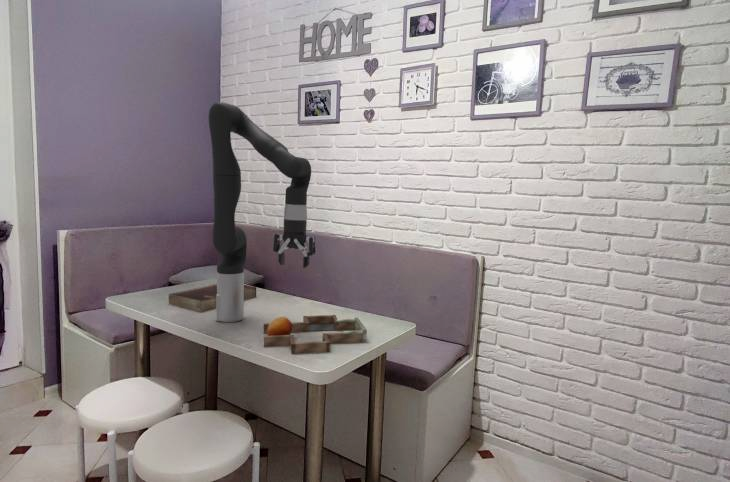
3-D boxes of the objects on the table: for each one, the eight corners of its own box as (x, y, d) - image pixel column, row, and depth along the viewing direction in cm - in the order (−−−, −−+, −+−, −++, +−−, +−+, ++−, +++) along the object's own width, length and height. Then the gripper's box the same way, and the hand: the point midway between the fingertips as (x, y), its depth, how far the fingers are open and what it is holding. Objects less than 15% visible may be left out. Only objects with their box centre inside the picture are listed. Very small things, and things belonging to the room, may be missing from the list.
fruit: (295, 339, 140) (282, 317, 139) (274, 351, 140) (261, 329, 139) (300, 330, 148) (287, 310, 147) (279, 341, 148) (267, 321, 147)
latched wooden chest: (225, 291, 203) (225, 280, 202) (256, 298, 193) (256, 287, 193) (168, 305, 178) (168, 292, 177) (200, 313, 169) (200, 300, 168)
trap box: (264, 355, 130) (264, 342, 129) (263, 325, 156) (263, 314, 156) (371, 350, 137) (372, 337, 136) (353, 322, 163) (353, 311, 163)
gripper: (270, 217, 147) (269, 265, 149) (310, 220, 143) (308, 270, 146) (280, 215, 154) (279, 262, 157) (319, 218, 151) (317, 266, 153)
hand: (293, 266), depth 151 cm, fingers open, 8 cm apart
